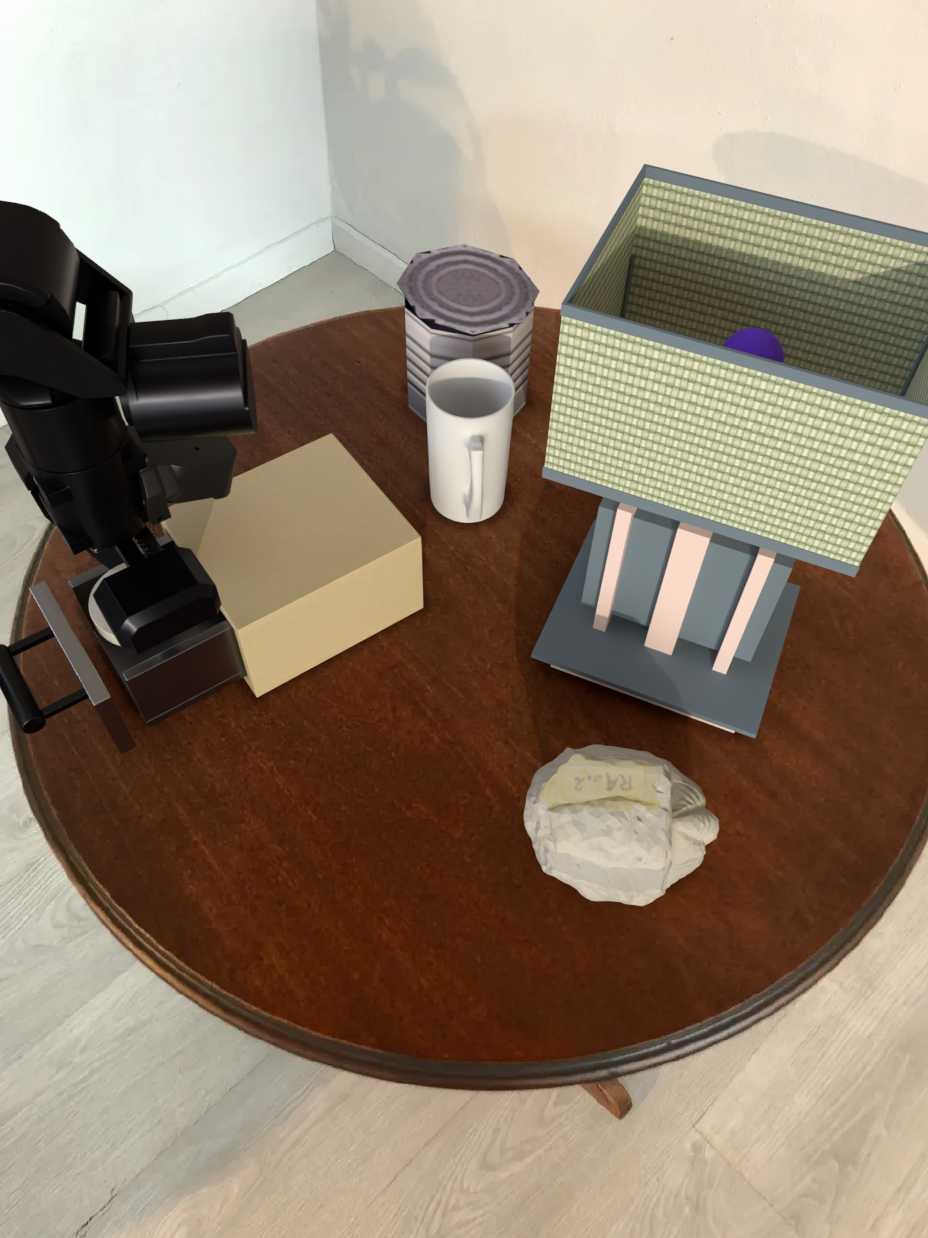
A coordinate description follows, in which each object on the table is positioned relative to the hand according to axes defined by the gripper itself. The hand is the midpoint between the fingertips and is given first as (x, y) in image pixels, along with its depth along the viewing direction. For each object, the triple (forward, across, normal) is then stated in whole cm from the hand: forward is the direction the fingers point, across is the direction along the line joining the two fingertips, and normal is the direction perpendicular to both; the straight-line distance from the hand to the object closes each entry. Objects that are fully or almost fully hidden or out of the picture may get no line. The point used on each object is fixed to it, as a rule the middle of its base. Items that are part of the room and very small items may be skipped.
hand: (141, 602), depth 69 cm
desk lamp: (+8, -19, -32) cm, 39 cm away
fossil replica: (+8, -30, -18) cm, 36 cm away
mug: (+8, 0, -28) cm, 29 cm away
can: (+8, +12, -36) cm, 38 cm away
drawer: (+7, 0, +1) cm, 7 cm away
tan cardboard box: (+8, 0, -12) cm, 14 cm away
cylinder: (+1, 0, 0) cm, 1 cm away
